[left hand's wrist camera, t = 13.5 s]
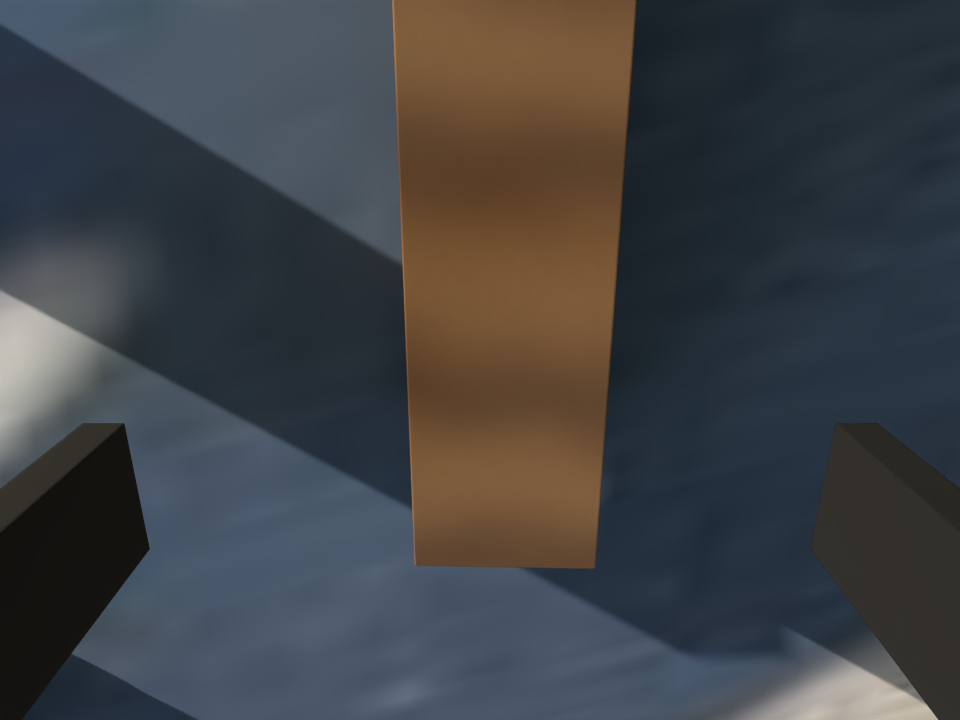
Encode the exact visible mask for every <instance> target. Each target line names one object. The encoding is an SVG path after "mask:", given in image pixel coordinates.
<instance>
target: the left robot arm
mask: <svg viewBox="0 0 960 720" xmlns="http://www.w3.org/2000/svg"><path fill="white" fill-rule="evenodd" d="M149 549H150V548H149V543H148V538H147V534H146V529H145V524H144V519H143V514H142V509H141V504H140V499H139V494H138V489H137V484H136V479H135V474H134V469H133V464H132V459H131V454H130V450H129V445H128V440H127V435H126V430H125V425H124V423H83V424H81V425H80V426H79V427H78V428H76V429H75V430H74V431H73V432H71V433H70V434H69V435H67V436H66V437H65V438H64V439H62V440H61V441H60V442H59V443H57V444H56V445H55V446H54V447H52V448H51V449H50V450H49V451H47V452H46V453H45V454H43V455H42V456H41V457H40V458H38V459H37V460H36V461H35V462H33V463H32V464H31V465H30V466H28V467H27V468H26V469H25V470H23V471H22V472H21V473H19V474H18V475H17V476H16V477H14V478H13V479H12V480H11V481H9V482H8V483H7V484H6V485H4V486H3V487H2V488H1V489H0V720H22V718H23V717H24V716H25V714H26V713H27V712H28V710H29V709H30V708H31V706H32V705H33V704H34V702H35V701H36V700H37V698H38V697H39V696H40V694H41V693H42V692H43V690H44V689H45V688H46V686H47V685H48V684H49V682H50V681H51V680H52V678H53V677H54V676H55V674H56V673H57V672H58V670H59V669H60V668H61V666H62V665H63V664H64V662H65V661H66V660H67V658H68V657H69V656H70V654H71V653H72V652H73V650H74V649H75V648H76V646H77V645H78V644H79V642H80V641H81V640H82V638H83V637H84V636H85V634H86V633H87V632H88V630H89V629H90V628H91V626H92V625H93V624H94V623H95V621H96V620H97V619H98V617H99V616H100V615H101V613H102V612H103V611H104V609H105V608H106V607H107V605H108V604H109V603H110V601H111V600H112V599H113V597H114V596H115V595H116V593H117V592H118V591H119V589H120V588H121V587H122V585H123V584H124V583H125V581H126V580H127V579H128V577H129V576H130V575H131V573H132V572H133V571H134V569H135V568H136V567H137V565H138V564H139V563H140V561H141V560H142V559H143V557H144V556H145V555H146V553H147V552H148V551H149ZM810 549H811V551H812V552H813V553H814V555H815V556H816V557H817V559H818V560H819V561H820V563H821V564H822V565H823V567H824V568H825V569H826V571H827V572H828V573H829V575H830V576H831V577H832V579H833V580H834V581H835V583H836V584H837V585H838V587H839V588H840V589H841V591H842V592H843V593H844V595H845V596H846V597H847V599H848V600H849V601H850V603H851V604H852V605H853V607H854V608H855V609H856V611H857V612H858V613H859V615H860V616H861V617H862V619H863V620H864V621H865V623H866V624H867V625H868V627H869V628H870V629H871V631H872V632H873V633H874V634H875V636H876V637H877V638H878V640H879V641H880V642H881V644H882V645H883V646H884V648H885V649H886V650H887V652H888V653H889V654H890V656H891V657H892V658H893V660H894V661H895V662H896V664H897V665H898V666H899V668H900V669H901V670H902V672H903V673H904V674H905V676H906V677H907V678H908V680H909V681H910V682H911V684H912V685H913V686H914V688H915V689H916V690H917V692H918V693H919V694H920V696H921V697H922V698H923V700H924V701H925V702H926V704H927V705H928V706H929V708H930V709H931V710H932V712H933V713H934V714H935V716H936V717H937V718H938V720H960V489H959V488H958V487H957V486H956V485H954V484H953V483H952V482H951V481H949V480H948V479H947V478H946V477H944V476H943V475H942V474H940V473H939V472H938V471H937V470H935V469H934V468H933V467H932V466H930V465H929V464H928V463H927V462H925V461H924V460H923V459H922V458H920V457H919V456H918V455H917V454H915V453H914V452H913V451H911V450H910V449H909V448H908V447H906V446H905V445H904V444H903V443H901V442H900V441H899V440H898V439H896V438H895V437H894V436H893V435H891V434H890V433H889V432H887V431H886V430H885V429H884V428H882V427H881V426H880V425H879V424H877V423H836V425H835V430H834V435H833V440H832V445H831V450H830V454H829V459H828V464H827V469H826V474H825V479H824V484H823V489H822V494H821V499H820V504H819V509H818V514H817V519H816V524H815V529H814V533H813V538H812V543H811V548H810Z"/></svg>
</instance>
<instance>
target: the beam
mask: <svg viewBox="0 0 960 720" xmlns="http://www.w3.org/2000/svg"><path fill="white" fill-rule="evenodd" d="M392 9H393V35H394V60H395V85H396V110H397V136H398V161H399V186H400V211H401V237H402V262H403V287H404V312H405V338H406V363H407V388H408V413H409V439H410V464H411V489H412V514H413V540H414V564H415V565H416V566H462V567H520V568H578V569H594V568H595V565H596V552H597V538H598V525H599V511H600V498H601V484H602V470H603V457H604V443H605V430H606V416H607V403H608V389H609V375H610V362H611V348H612V335H613V321H614V307H615V294H616V280H617V267H618V253H619V240H620V226H621V212H622V199H623V185H624V172H625V158H626V145H627V131H628V117H629V104H630V90H631V77H632V63H633V50H634V36H635V22H636V9H637V0H392Z"/></svg>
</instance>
